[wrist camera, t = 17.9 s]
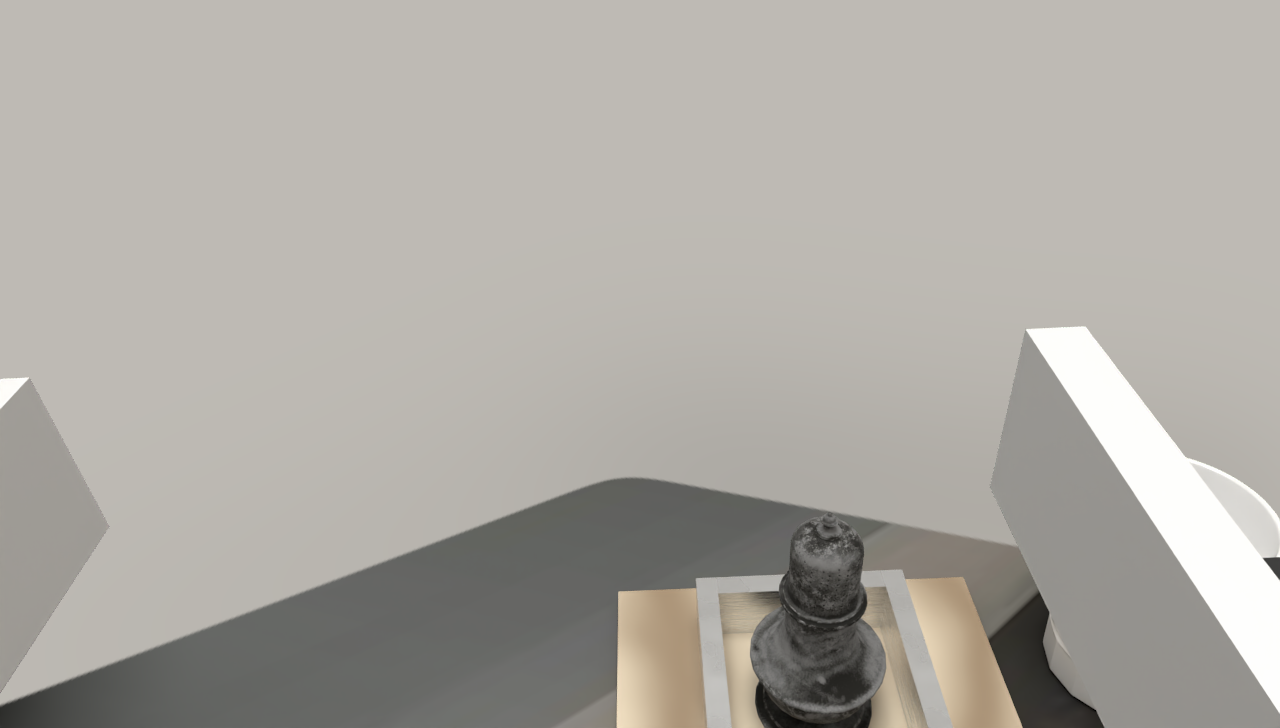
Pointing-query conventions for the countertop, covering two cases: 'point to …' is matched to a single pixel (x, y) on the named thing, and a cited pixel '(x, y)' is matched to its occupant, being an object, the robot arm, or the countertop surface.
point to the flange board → (672, 687)
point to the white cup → (1245, 511)
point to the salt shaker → (819, 636)
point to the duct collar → (889, 608)
